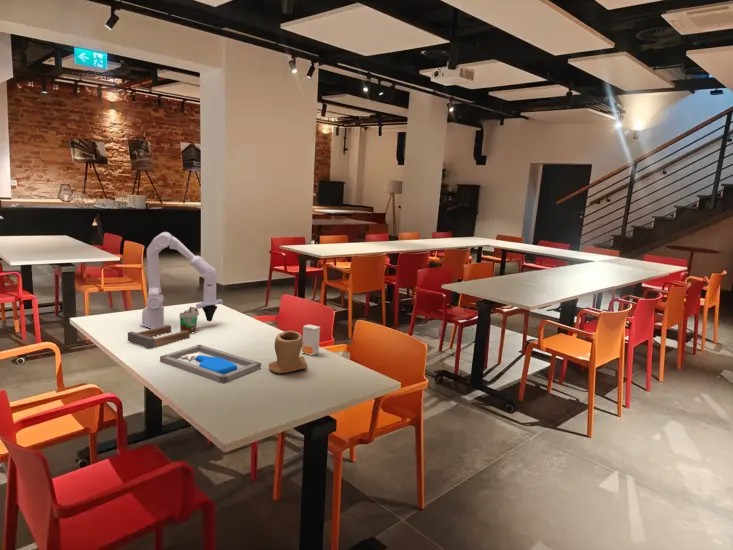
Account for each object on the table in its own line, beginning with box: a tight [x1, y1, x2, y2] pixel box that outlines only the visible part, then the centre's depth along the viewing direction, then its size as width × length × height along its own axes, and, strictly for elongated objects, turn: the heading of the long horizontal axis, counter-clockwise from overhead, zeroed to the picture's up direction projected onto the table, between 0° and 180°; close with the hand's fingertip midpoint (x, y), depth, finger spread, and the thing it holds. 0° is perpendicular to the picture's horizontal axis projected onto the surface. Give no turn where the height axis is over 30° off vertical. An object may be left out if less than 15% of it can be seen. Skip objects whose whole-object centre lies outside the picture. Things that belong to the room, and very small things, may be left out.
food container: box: [179, 306, 200, 334], centre depth 222 cm, size 12×6×10 cm, turn 179°
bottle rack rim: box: [159, 344, 262, 384], centre depth 184 cm, size 33×19×2 cm, turn 61°
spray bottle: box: [180, 352, 238, 375], centre depth 184 cm, size 3×11×24 cm
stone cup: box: [268, 330, 309, 374], centre depth 184 cm, size 15×12×15 cm
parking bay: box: [136, 324, 191, 348], centre depth 209 cm, size 14×18×3 cm
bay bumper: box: [127, 331, 155, 349], centre depth 200 cm, size 14×2×4 cm, turn 61°
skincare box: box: [301, 323, 321, 355], centre depth 204 cm, size 6×4×12 cm
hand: (209, 320), depth 232 cm, fingers closed
